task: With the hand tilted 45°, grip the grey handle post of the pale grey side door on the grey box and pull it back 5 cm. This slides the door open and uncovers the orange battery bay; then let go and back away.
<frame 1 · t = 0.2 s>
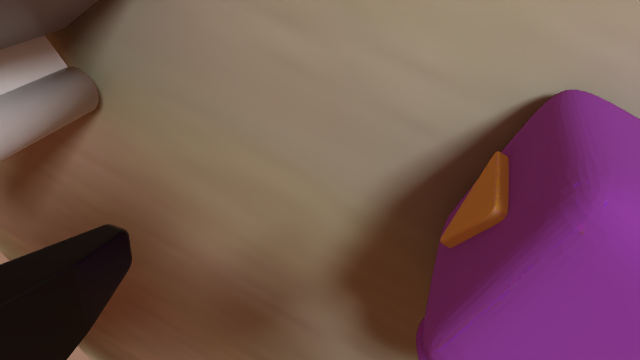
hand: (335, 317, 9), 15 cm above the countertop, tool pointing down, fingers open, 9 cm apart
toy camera: (558, 226, 23), on the countertop
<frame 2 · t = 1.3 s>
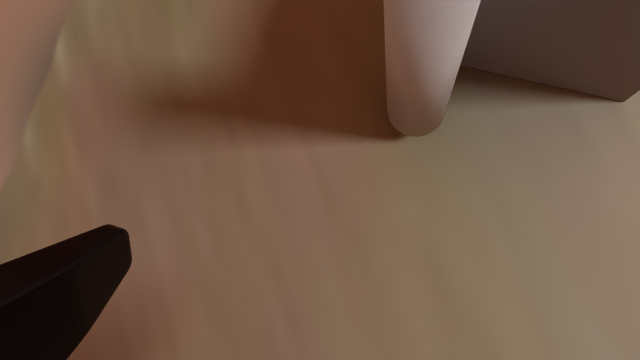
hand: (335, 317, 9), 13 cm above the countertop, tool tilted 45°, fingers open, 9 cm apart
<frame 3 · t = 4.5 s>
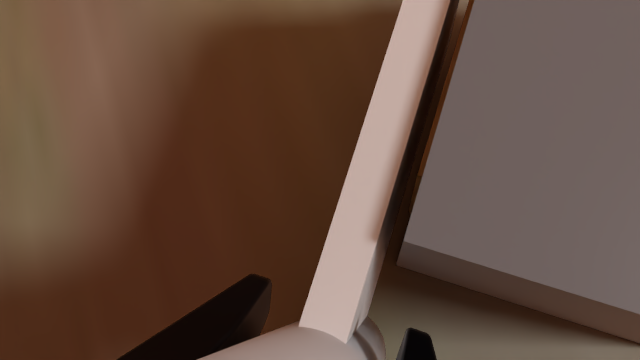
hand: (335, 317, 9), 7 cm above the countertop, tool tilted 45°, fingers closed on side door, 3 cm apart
grey box: (553, 170, 16), on the countertop
side door: (384, 166, 10), point 7 cm above the countertop, slide at 0.0 cm, touching gripper
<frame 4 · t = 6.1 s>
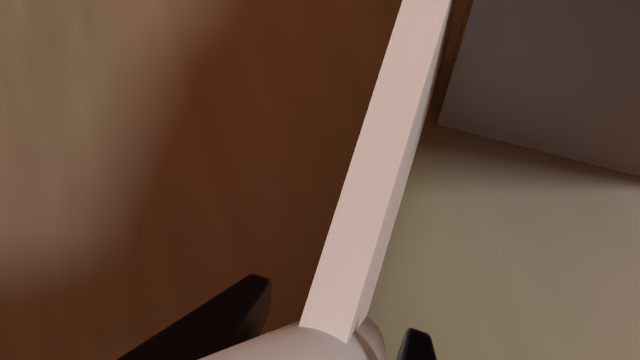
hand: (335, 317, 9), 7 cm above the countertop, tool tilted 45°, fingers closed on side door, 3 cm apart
grey box: (587, 33, 17), on the countertop
side door: (384, 166, 10), point 6 cm above the countertop, slide at 5.0 cm, touching gripper
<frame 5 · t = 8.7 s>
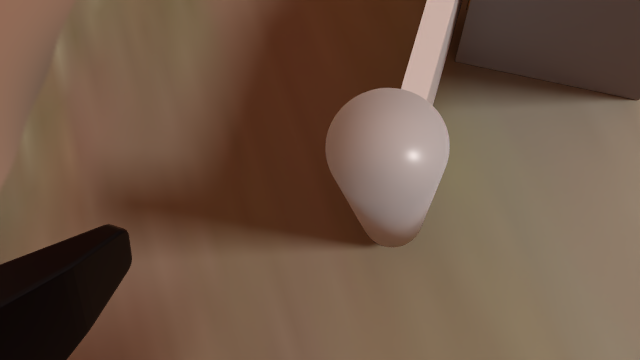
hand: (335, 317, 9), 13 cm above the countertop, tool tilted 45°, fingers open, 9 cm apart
side door: (427, 62, 16), point 6 cm above the countertop, slide at 5.0 cm
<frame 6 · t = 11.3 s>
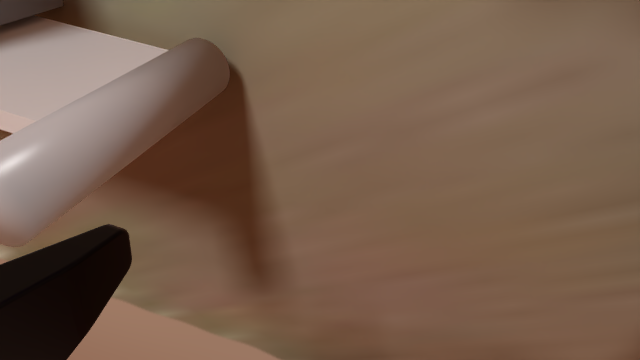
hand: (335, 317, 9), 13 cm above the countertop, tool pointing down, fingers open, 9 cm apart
side door: (15, 87, 18), point 7 cm above the countertop, slide at 5.0 cm
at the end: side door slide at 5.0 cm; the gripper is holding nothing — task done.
